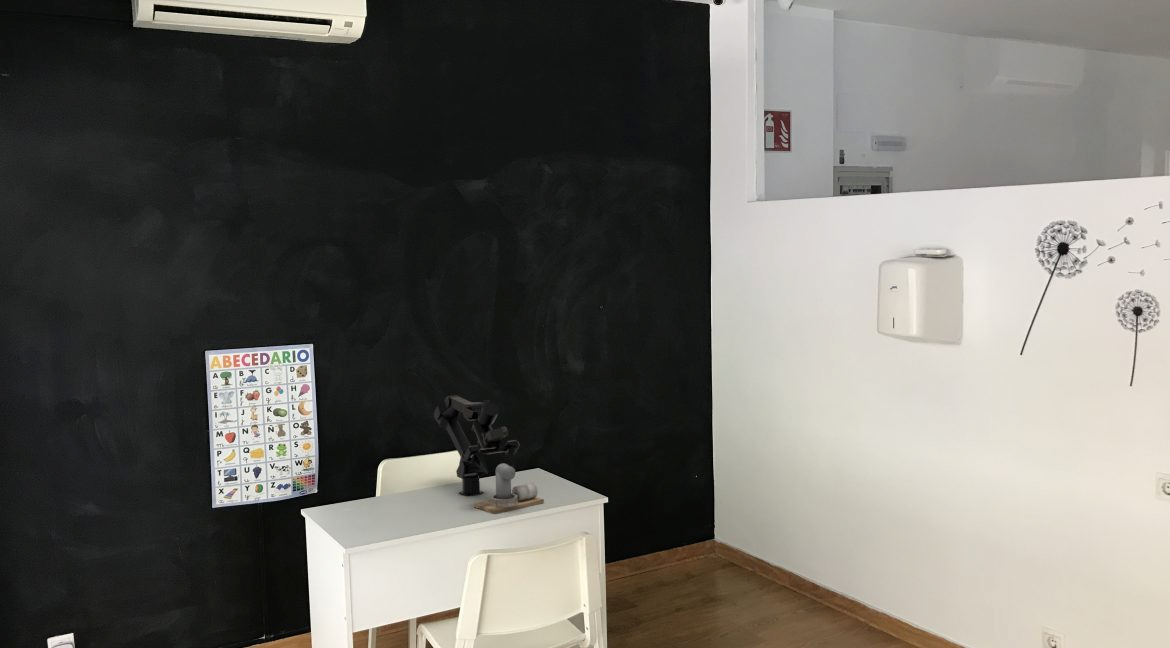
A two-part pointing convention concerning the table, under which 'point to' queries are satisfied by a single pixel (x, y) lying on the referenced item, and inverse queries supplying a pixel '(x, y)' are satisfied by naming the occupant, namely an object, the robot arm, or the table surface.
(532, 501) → the board
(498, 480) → the elbow
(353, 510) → the table surface
